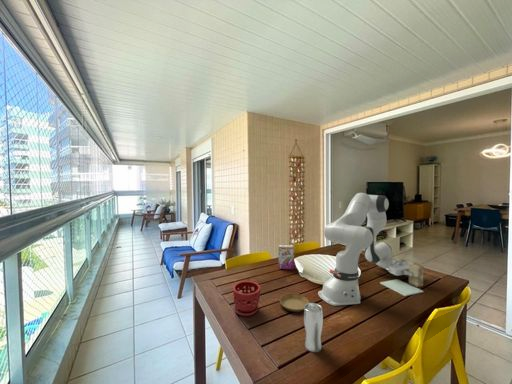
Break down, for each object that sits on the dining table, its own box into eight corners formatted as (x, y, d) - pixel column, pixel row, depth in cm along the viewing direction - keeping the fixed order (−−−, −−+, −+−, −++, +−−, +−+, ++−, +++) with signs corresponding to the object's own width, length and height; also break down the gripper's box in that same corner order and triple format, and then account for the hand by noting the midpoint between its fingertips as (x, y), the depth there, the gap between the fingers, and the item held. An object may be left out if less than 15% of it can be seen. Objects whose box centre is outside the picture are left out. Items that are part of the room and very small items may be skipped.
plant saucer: (309, 300, 115) (309, 295, 114) (308, 317, 100) (308, 311, 100) (282, 296, 119) (282, 291, 119) (277, 311, 105) (277, 306, 104)
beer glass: (322, 355, 77) (322, 314, 77) (302, 350, 80) (302, 310, 79) (323, 342, 84) (323, 304, 83) (305, 337, 87) (305, 301, 86)
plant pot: (230, 318, 100) (230, 292, 99) (236, 302, 113) (236, 280, 112) (258, 320, 98) (258, 294, 97) (261, 304, 111) (261, 281, 110)
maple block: (416, 287, 127) (417, 267, 127) (408, 283, 132) (409, 264, 132) (423, 285, 129) (423, 265, 128) (414, 282, 134) (415, 263, 133)
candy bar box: (278, 269, 156) (278, 246, 155) (278, 266, 161) (278, 244, 160) (294, 269, 154) (294, 247, 154) (293, 267, 159) (293, 245, 159)
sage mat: (404, 296, 117) (404, 295, 117) (379, 283, 133) (380, 282, 132) (423, 292, 121) (423, 291, 121) (397, 280, 137) (397, 279, 137)
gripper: (383, 263, 140) (403, 271, 127) (407, 259, 146) (428, 266, 133) (383, 272, 140) (403, 281, 127) (406, 268, 146) (428, 277, 133)
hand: (416, 274), depth 130 cm, fingers closed on maple block, 5 cm apart
